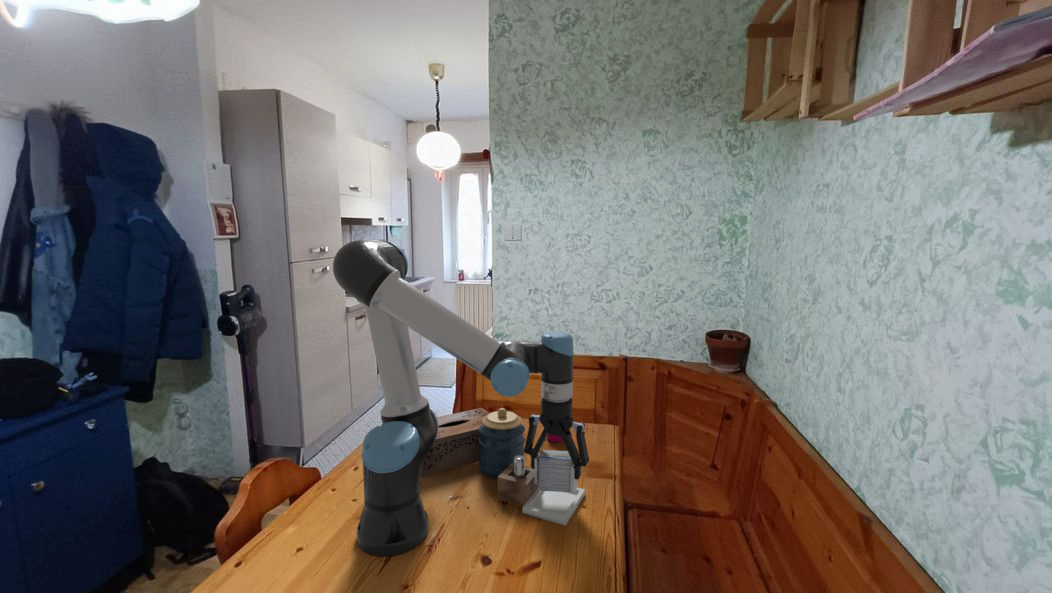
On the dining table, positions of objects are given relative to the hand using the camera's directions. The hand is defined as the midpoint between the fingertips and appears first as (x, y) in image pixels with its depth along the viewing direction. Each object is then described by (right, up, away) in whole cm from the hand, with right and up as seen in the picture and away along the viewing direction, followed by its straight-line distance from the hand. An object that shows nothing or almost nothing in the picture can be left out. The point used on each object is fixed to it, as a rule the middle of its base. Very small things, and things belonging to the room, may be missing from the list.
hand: (555, 485), depth 111 cm
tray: (0, -5, +1) cm, 5 cm away
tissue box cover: (-29, -2, +26) cm, 39 cm away
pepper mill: (+3, 0, +38) cm, 38 cm away
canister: (-14, -3, +18) cm, 23 cm away
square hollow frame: (-9, -4, +4) cm, 11 cm away
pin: (-9, -4, +4) cm, 11 cm away
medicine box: (0, -1, 0) cm, 1 cm away
